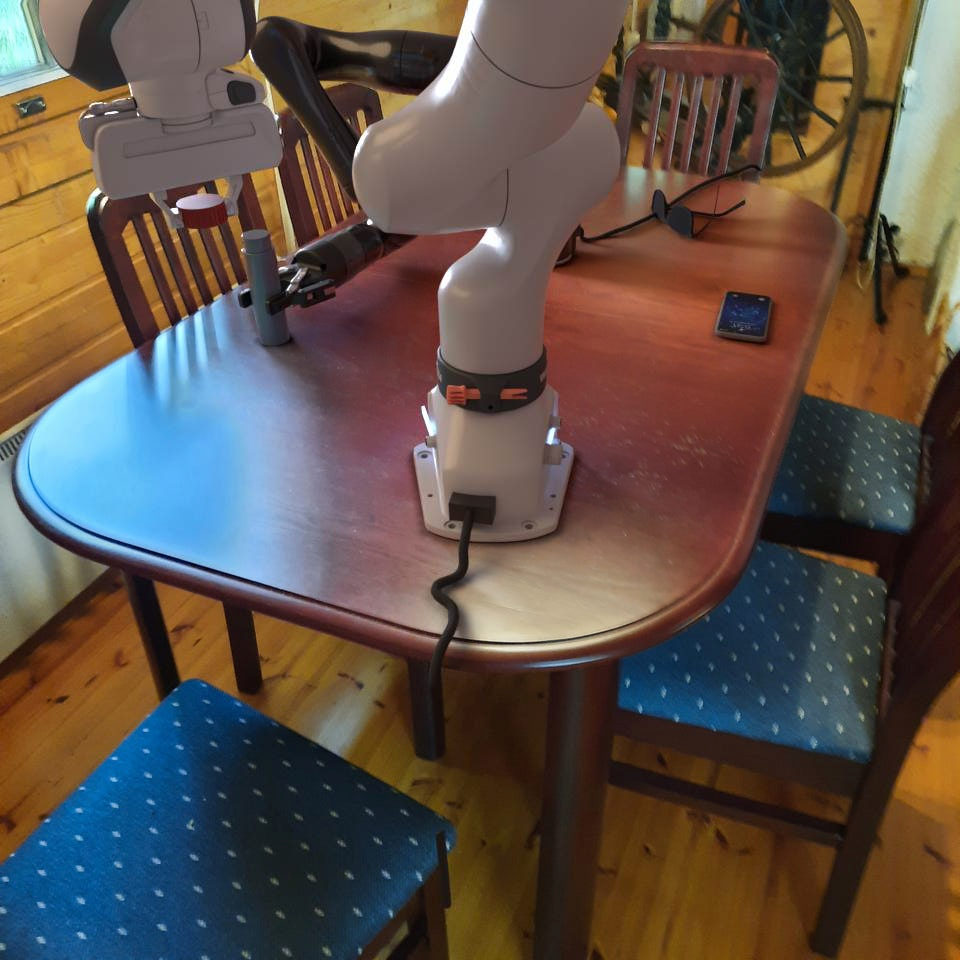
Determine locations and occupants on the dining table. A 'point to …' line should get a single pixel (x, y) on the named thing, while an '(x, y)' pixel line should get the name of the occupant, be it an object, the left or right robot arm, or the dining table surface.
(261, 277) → the bottle
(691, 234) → the sunglasses
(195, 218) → the lid
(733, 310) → the smartphone
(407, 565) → the dining table surface
